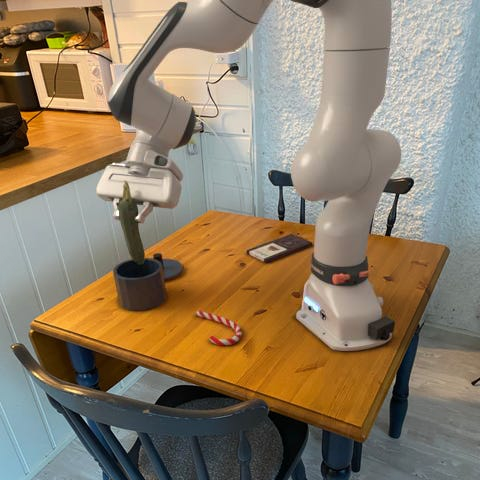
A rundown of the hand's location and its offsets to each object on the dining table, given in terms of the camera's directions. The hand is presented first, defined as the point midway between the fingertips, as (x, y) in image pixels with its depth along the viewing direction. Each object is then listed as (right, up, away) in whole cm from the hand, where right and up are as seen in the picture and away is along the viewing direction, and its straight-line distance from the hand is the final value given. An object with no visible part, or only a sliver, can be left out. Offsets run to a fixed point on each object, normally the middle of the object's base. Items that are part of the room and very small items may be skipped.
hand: (128, 220), depth 105 cm
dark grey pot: (+1, -17, +12) cm, 21 cm away
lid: (+3, -9, +23) cm, 25 cm away
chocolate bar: (+37, -1, +34) cm, 50 cm away
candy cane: (+20, -24, -1) cm, 31 cm away
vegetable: (+1, -9, +7) cm, 12 cm away
